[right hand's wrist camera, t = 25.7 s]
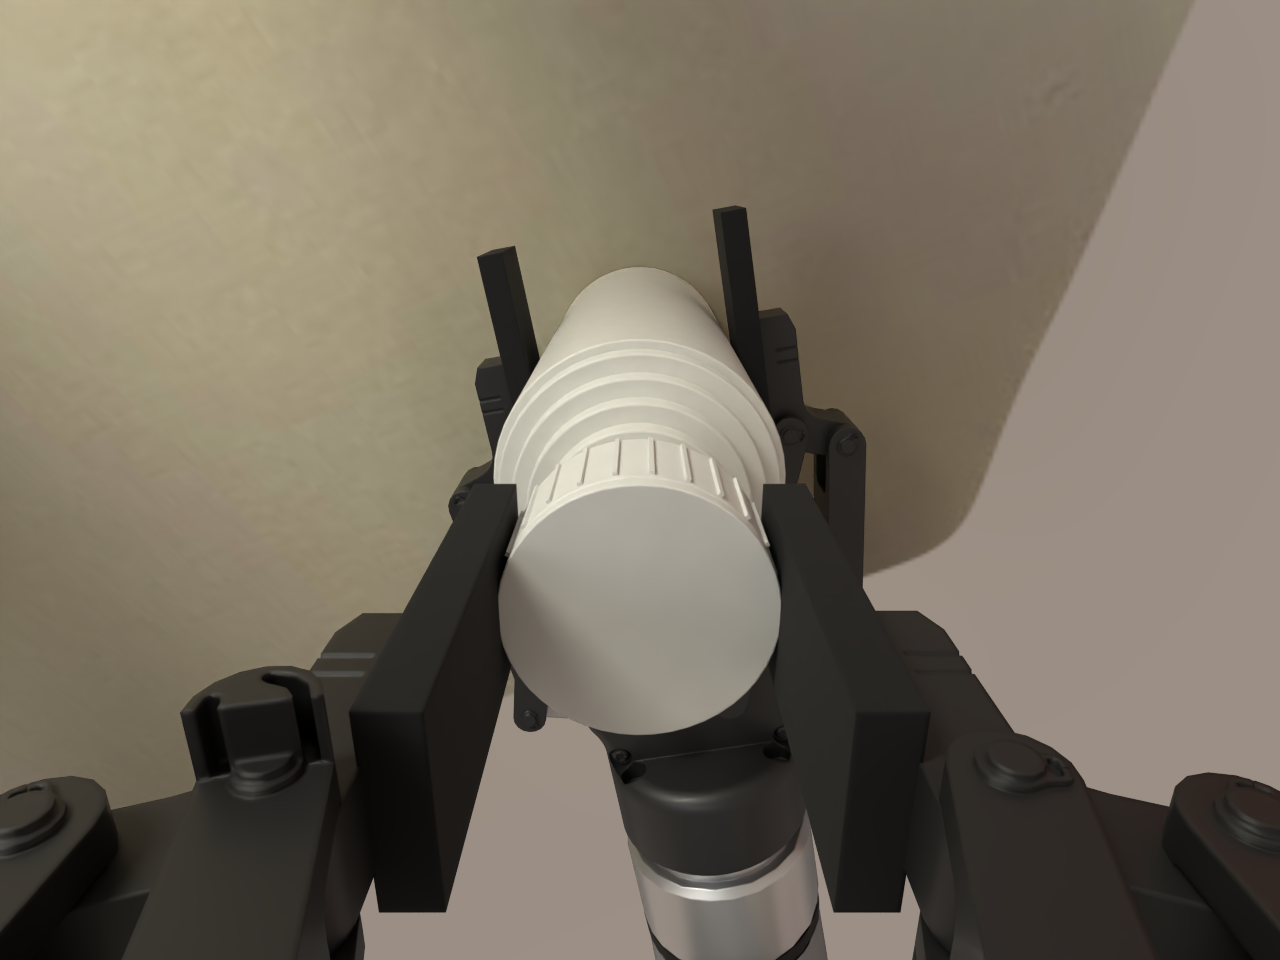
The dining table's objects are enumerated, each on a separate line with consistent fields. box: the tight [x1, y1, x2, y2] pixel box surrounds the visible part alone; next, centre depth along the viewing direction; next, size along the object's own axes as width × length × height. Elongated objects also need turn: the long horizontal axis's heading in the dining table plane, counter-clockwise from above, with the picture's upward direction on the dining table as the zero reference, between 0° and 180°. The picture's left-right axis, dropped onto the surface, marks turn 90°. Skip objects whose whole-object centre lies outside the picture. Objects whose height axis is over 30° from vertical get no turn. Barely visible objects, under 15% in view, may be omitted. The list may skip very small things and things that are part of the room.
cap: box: [498, 437, 781, 735], centre depth 13 cm, size 5×5×2 cm
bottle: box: [494, 267, 786, 519], centre depth 23 cm, size 6×7×20 cm
